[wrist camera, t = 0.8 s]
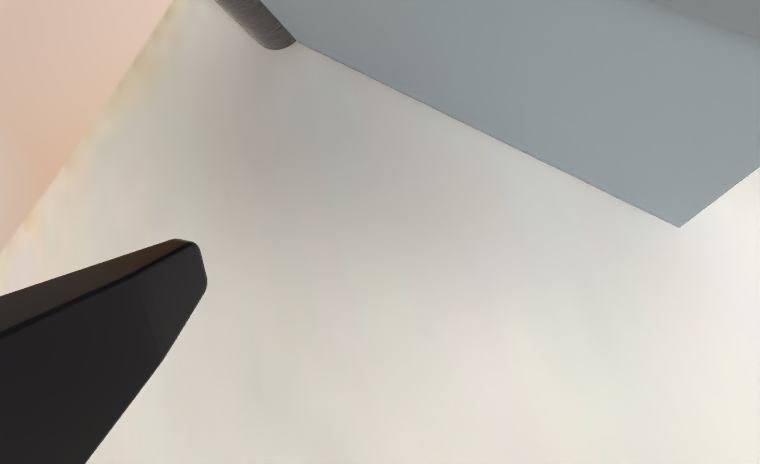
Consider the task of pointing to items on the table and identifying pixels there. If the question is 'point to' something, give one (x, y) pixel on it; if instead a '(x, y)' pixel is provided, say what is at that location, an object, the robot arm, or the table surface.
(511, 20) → the panel
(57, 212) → the table surface
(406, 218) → the table surface
